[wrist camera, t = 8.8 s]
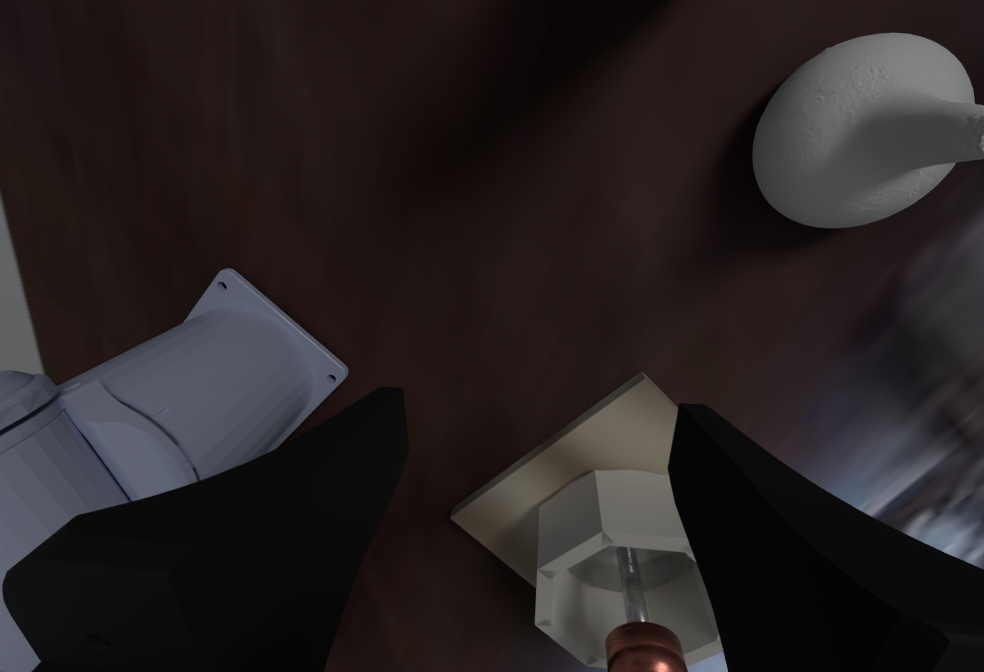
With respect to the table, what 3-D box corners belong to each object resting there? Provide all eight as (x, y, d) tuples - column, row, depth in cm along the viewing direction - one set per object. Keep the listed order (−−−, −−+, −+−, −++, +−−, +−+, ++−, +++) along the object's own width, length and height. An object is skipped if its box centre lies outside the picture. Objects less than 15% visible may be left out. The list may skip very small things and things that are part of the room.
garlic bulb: (952, 103, 17) (1288, 39, 9) (834, 251, 19) (1033, 297, 11) (812, 17, 16) (1047, -122, 9) (707, 178, 19) (826, 176, 11)
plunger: (616, 598, 27) (637, 759, 20) (541, 534, 25) (537, 682, 19) (710, 549, 24) (772, 713, 17) (633, 477, 23) (668, 622, 16)
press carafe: (611, 612, 28) (621, 693, 24) (504, 522, 26) (496, 593, 22) (747, 544, 25) (786, 624, 21) (636, 435, 23) (655, 500, 19)
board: (605, 634, 30) (606, 646, 29) (452, 507, 27) (449, 518, 27) (804, 538, 25) (811, 550, 24) (641, 370, 22) (644, 378, 22)
